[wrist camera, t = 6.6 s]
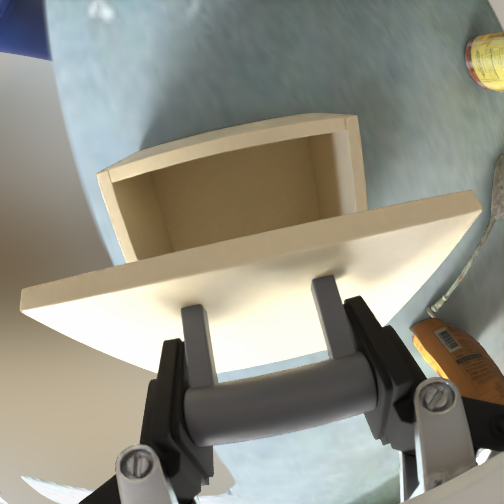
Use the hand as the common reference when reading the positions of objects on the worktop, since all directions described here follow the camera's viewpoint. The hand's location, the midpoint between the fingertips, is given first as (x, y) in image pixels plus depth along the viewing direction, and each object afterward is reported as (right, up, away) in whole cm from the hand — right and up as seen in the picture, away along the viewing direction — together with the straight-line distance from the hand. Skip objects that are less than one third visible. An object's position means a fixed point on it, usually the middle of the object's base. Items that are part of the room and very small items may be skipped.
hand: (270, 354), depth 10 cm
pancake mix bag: (+26, -8, +27) cm, 39 cm away
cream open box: (-1, +7, +17) cm, 18 cm away
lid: (0, 0, +4) cm, 4 cm away
